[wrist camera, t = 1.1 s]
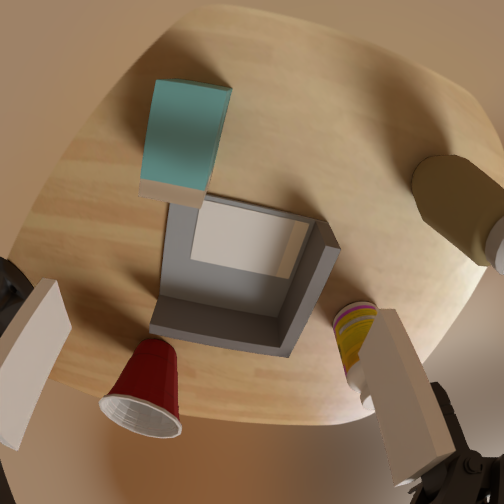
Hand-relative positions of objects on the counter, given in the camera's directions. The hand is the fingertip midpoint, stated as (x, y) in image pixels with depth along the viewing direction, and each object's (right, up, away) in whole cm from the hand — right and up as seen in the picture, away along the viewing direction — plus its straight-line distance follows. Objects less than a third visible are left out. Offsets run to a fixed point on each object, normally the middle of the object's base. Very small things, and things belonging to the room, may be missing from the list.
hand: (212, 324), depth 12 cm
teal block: (-4, +14, +15) cm, 21 cm away
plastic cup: (-12, -11, +31) cm, 35 cm away
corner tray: (0, +1, +23) cm, 23 cm away
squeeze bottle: (+21, +11, +17) cm, 29 cm away
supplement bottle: (+15, -6, +27) cm, 32 cm away
